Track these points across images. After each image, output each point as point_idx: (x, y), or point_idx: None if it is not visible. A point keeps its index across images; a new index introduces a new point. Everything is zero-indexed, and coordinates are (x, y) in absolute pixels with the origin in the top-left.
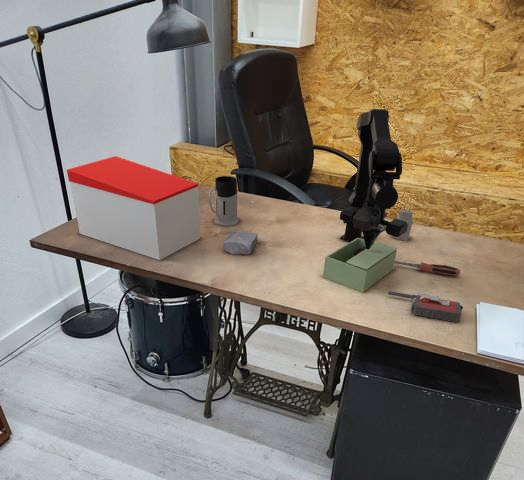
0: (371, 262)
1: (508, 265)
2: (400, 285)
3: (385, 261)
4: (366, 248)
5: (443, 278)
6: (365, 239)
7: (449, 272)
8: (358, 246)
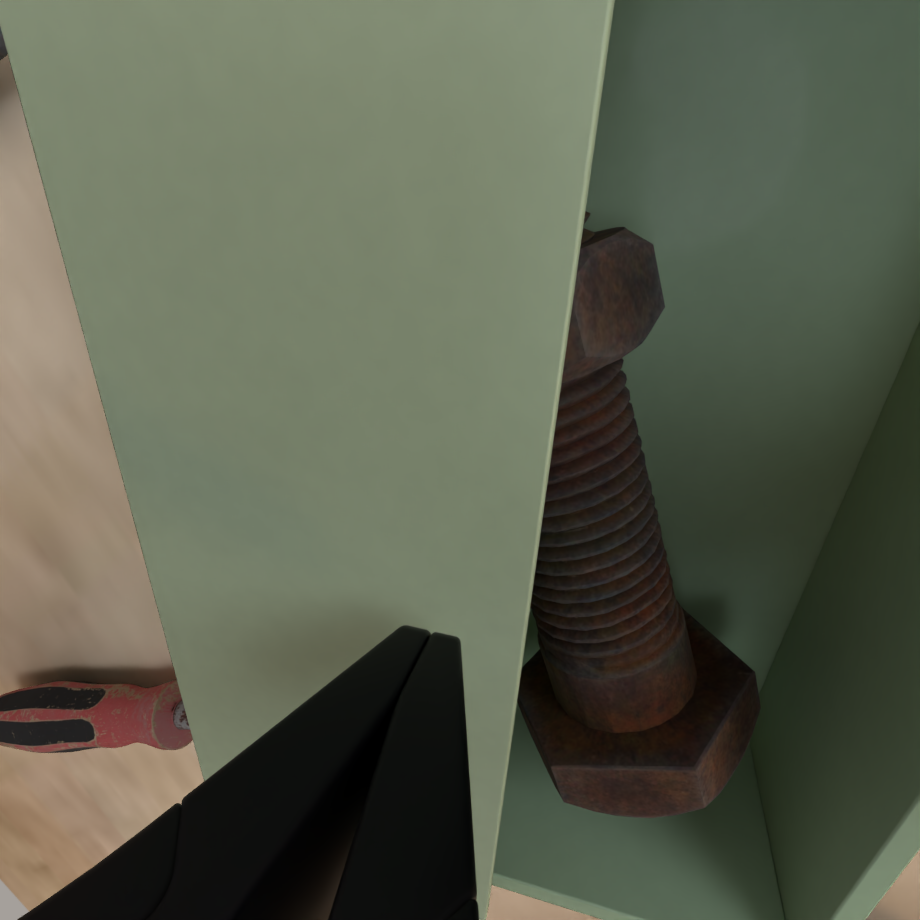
0: (100, 158)
1: (5, 855)
2: None
3: None
4: (444, 640)
5: (55, 645)
6: (421, 851)
7: (19, 697)
8: (750, 836)
